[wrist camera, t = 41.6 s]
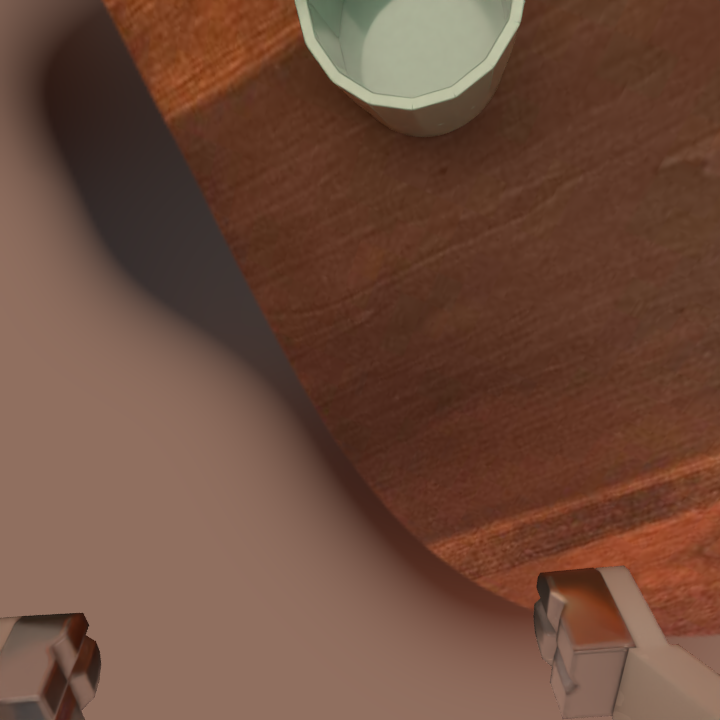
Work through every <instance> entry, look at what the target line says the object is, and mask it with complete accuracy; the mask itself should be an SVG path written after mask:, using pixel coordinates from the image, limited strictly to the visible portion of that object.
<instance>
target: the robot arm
mask: <svg viewBox="0 0 720 720" xmlns="http://www.w3.org/2000/svg"><path fill="white" fill-rule="evenodd" d="M537 590H538V593H539V596H540V599H539V600H538V601H537V602H536V603H535V604H534V627H535V634H536V639H537V643H538V647H539V650H540V653H541V656H542V659H544V660H545V661H546V662H547V663H548V664H549V665H551V666H552V672H551V679H550V683H551V686H552V689H553V692H554V695H555V698H556V700H557V704H558V707H559V709H560V713H561V715H562V718H563V719H567V718H585V717H602V716H612V719H613V720H720V675H719V674H718V673H716V672H715V671H714V670H713V669H711V668H710V667H709V666H707V665H706V664H704V663H703V662H702V661H700V660H699V659H697V658H696V657H695V656H693V655H692V654H691V653H689V652H688V651H687V650H685V649H684V648H682V647H681V646H680V645H678V644H677V645H669V643H668V641H667V639H666V637H665V635H664V634H663V632H662V630H661V628H660V626H659V624H658V623H657V621H656V619H655V617H654V615H653V613H652V611H651V610H650V608H649V606H648V604H647V602H646V600H645V599H644V597H643V595H642V593H641V591H640V589H639V588H638V586H637V584H636V582H635V580H634V578H633V577H632V575H631V573H630V571H629V570H628V569H627V568H626V567H625V566H614V567H602V568H595V569H594V568H585V569H575V570H564V571H554V572H544V573H540V575H539V576H538V580H537ZM88 626H89V624H88V622H87V620H86V618H85V616H84V614H83V613H70V614H52V615H36V616H35V615H34V616H19V617H6V618H0V720H85V718H84V716H83V713H82V710H83V709H84V707H86V705H87V704H88V703H89V702H90V701H91V700H92V699H93V698H94V697H95V694H96V691H97V687H98V683H99V680H100V670H101V658H100V651H99V648H98V646H97V643H96V641H94V640H92V639H91V638H89V637H88V636H86V632H87V630H88Z"/></svg>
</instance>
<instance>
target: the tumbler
mask: <svg viewBox="0 0 720 720" xmlns="http://www.w3.org/2000/svg"><path fill="white" fill-rule="evenodd" d="M294 1H295V5H296V9H297V13H298V17H299V21H300V25H301V29H302V33H303V37H304V41H305V44H306V46H307V48H308V49H309V50H310V52H311V53H312V55H313V56H314V58H315V59H316V60H317V62H318V63H319V65H320V66H321V67H322V69H323V70H324V72H325V73H326V75H327V76H328V77H329V79H330V80H331V81H332V82H333V83H334V84H335V85H336V86H337V87H338V88H339V89H341V90H342V91H343V92H344V93H345V94H346V95H347V96H348V97H350V98H351V99H352V100H353V101H354V102H355V103H356V104H357V105H359V106H360V107H361V108H363V109H364V110H366V111H368V112H369V113H370V114H371V115H372V116H373V117H374V118H375V119H377V120H378V121H379V122H380V123H382V124H383V125H385V126H386V127H388V128H390V129H392V130H394V131H396V132H399V133H402V134H405V135H409V136H416V137H431V136H437V135H442V134H445V133H448V132H451V131H454V130H456V129H458V128H460V127H462V126H463V125H465V124H466V123H468V122H469V121H471V120H472V119H473V118H474V117H475V116H476V115H478V114H479V113H480V112H481V111H482V109H483V108H484V107H485V106H486V105H487V104H488V102H489V101H490V99H491V98H492V96H493V95H494V93H495V91H496V89H497V87H498V85H499V83H500V80H501V77H502V75H503V72H504V68H505V66H506V65H507V63H508V60H509V57H510V54H511V51H512V48H513V45H514V42H515V39H516V36H517V33H518V29H519V26H520V23H521V19H522V14H523V8H524V3H525V0H294Z"/></svg>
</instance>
